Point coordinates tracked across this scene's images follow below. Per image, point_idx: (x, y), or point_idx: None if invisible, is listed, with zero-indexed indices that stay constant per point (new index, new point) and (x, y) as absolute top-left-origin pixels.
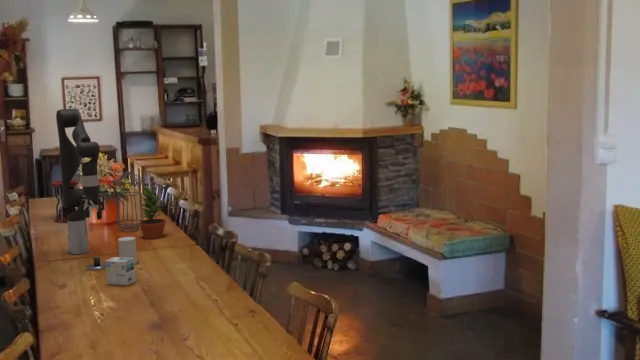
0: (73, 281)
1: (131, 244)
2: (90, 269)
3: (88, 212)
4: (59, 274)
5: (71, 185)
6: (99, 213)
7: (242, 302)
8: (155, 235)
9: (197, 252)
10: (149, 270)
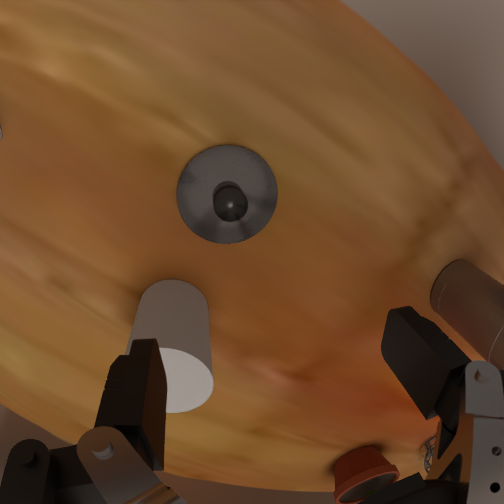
0: (128, 11)
1: None
2: (212, 147)
3: (414, 381)
4: (285, 37)
5: None
6: (98, 415)
7: None
8: (340, 465)
9: None
10: (20, 285)
